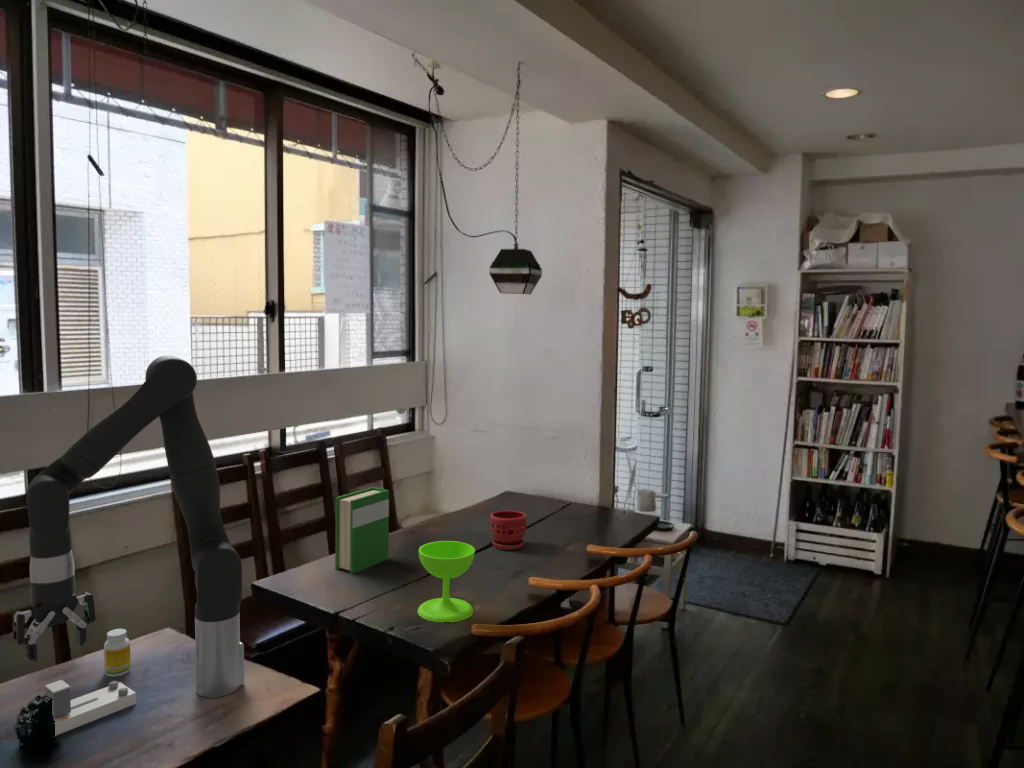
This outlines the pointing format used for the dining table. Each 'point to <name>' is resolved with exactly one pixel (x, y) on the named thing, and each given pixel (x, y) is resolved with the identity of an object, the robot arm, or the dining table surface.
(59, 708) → the fader tab
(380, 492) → the hardback book
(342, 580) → the dining table surface
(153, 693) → the dining table surface
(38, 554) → the robot arm
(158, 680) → the dining table surface
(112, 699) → the console
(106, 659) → the supplement bottle
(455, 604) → the wineglass
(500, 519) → the plant pot
